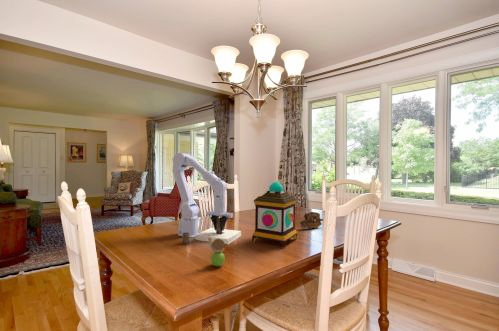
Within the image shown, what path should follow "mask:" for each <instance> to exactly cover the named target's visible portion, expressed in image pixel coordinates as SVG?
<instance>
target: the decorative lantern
mask: <svg viewBox="0 0 499 331" xmlns="http://www.w3.org/2000/svg"><path fill="white" fill-rule="evenodd" d="M297 202H298V199H297V198H296V197H294V196H293V195H290V194H289V193H287V192H286V190H284V187H283V185H282V184H281V183H280V182H279V181H278V180H277V181H273V182H271V184H270V185H269V186H268V190H266V192H265V193H263V194H262V195H260V196H259V195H258V196H257V197H256V198H255V199H253V204H254V207H255V211H254V212H255V218H254V220H255V221H254V222H255V223H254V228H255V229H254V231H253V234H252V235H251V240H252V243H256V240H257V238H258V239H264V240H269V241H273V242H274V241H275V242H280V243H281V246H282V249H284V248H285V247H286V244H287V243H286V242H288V241H289V240H290V239H292V238H293V239H294V240H295V239H296V240H297V238H298V232H297V230H296V227H295V226H296V225H295V224H296V222H295V221H296V220H295V218H296V215H295V214H296V203H297Z"/></svg>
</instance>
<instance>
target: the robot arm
mask: <svg viewBox="0 0 499 331" xmlns="http://www.w3.org/2000/svg"><path fill="white" fill-rule="evenodd" d="M188 166H189V167H191V168H193V169H194V170H195V171H197V172H198V173H199V174H201V176H202V179H203V180H204V181H205V182H206V183H207V184H209V186H210V187H212V191H213V192H214V193H213V200H214V201H213V210H211V211H210V210H207V211H206V212H205V213H206V214H205V215H206V216H210V220H211V222H212V225H213V228H214V229H215V230H216V218H220V223H221V231H223V230H224V229H225V226H226V223H227V221H228V220H229V218H230V219H231V218H233V217H234V213H231V212H226V190H227V187H228V185H227V182H226V181H225V180H223V179H221V177H218V176H217V175H216V174H215V171H212V170H207V169H206V168H205V167H204V166H203V165H202V164H201V163H200V162H199V161H198V160H197V159H196V157H194V156H192V154H191V153H189V152H186V153H183V152H176V154H174V157H172V174H173V177H174V181H175V183H176V186H177V190H178V193H179V197H180V199H181V205H180V208H181V218H180V219H179V221H178V234H177V236H178V237H179V236H180V237H183V233H185V232H188V233H189V238H190V239H191V238H196V235H197V234H199V233H200V232H198V227H199V226H198V221H199V220H198V216H199V215H200V210H201V209H200V207H199V206H198V204H197V202H196V201H195V200H194V199H193V196H192V193H191V190H190V188H189V184H188V181H187V178H186V175H185V171H186V169H187V167H188Z"/></svg>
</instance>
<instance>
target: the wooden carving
mask: <svg viewBox="0 0 499 331" xmlns="http://www.w3.org/2000/svg"><path fill="white" fill-rule="evenodd" d="M303 217H304V219H301V220H300V221H299V223H300V226H301V228H302V229H306V228H307V229H312V228H314V229H318V228H319V227H321V225H323V224H322V221H324V218H321V214H320V213H319V212H315V211H308V212H306V213H304V216H303Z"/></svg>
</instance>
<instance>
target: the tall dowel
mask: <svg viewBox="0 0 499 331" xmlns="http://www.w3.org/2000/svg"><path fill="white" fill-rule="evenodd" d="M220 218H221V217H219V218H216V234H222V231H221V223H220Z"/></svg>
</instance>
